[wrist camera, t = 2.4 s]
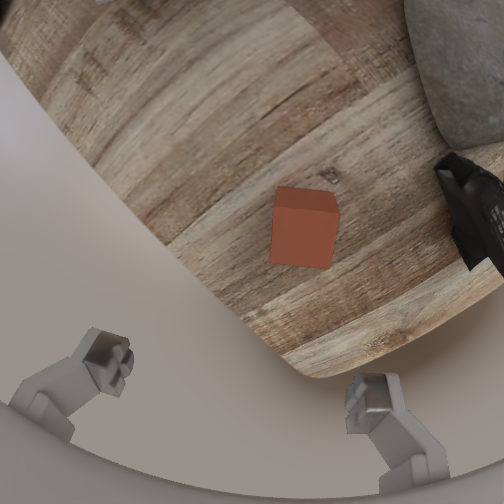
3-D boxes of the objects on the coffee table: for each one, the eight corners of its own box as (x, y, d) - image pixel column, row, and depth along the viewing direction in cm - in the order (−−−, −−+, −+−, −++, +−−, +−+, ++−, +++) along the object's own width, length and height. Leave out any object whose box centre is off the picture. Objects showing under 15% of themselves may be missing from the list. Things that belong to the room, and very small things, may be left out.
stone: (448, 163, 16) (381, -33, 10) (430, 152, 19) (371, -18, 13) (573, 138, 11) (535, -12, 5) (553, 130, 14) (516, -8, 8)
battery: (466, 272, 24) (507, 226, 21) (503, 318, 16) (554, 260, 13) (400, 187, 22) (449, 134, 19) (439, 214, 15) (502, 140, 12)
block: (333, 192, 23) (340, 213, 19) (325, 241, 25) (329, 269, 21) (278, 185, 23) (273, 206, 19) (274, 235, 25) (269, 263, 22)
